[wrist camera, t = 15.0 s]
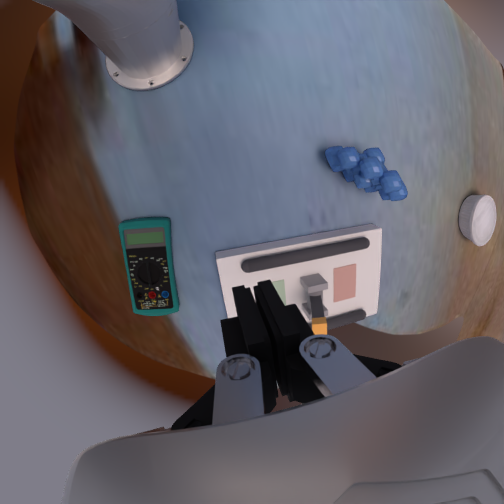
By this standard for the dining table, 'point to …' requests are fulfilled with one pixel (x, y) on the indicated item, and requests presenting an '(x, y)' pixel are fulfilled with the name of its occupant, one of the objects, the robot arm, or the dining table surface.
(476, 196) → the ramekin
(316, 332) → the breaker lever
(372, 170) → the grapes
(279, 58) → the dining table surface
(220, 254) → the switch base plate
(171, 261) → the digital multimeter
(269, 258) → the pair of dark bars
